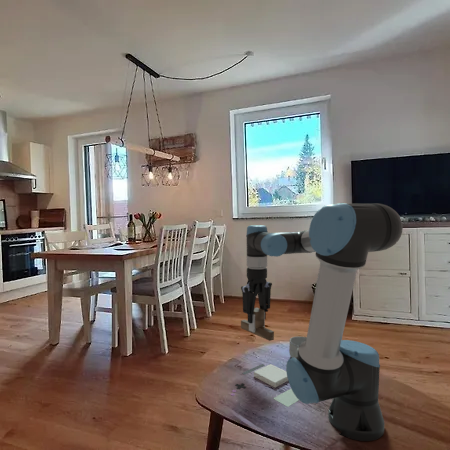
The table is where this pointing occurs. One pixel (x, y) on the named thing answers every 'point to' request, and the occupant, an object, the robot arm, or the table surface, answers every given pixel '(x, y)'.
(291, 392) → the rest board
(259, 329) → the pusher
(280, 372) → the tile
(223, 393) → the table surface
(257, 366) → the mat
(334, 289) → the robot arm
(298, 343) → the teacup
